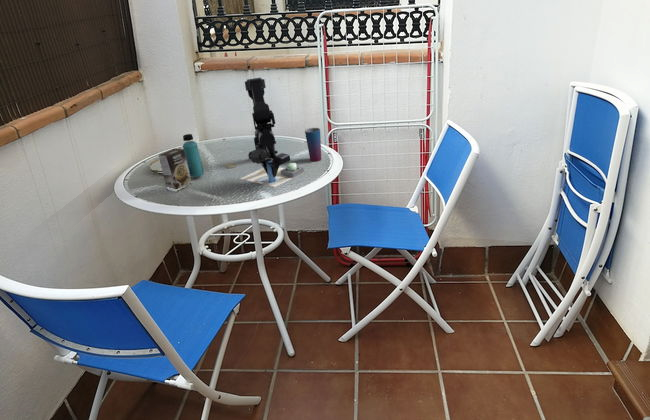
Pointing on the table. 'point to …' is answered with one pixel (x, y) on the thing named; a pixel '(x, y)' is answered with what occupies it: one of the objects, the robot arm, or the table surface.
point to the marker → (270, 172)
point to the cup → (314, 143)
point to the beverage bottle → (192, 156)
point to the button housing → (292, 174)
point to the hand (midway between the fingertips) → (271, 176)
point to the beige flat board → (263, 178)
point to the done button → (291, 167)
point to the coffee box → (175, 168)
